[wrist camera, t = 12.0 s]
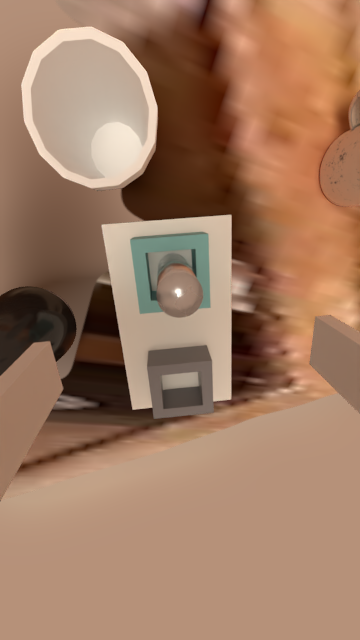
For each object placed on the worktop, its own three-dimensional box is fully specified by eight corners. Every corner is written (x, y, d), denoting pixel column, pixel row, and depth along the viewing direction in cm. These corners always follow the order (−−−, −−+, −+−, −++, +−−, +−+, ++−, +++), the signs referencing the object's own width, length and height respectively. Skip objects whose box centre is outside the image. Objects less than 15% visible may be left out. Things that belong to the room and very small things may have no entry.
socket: (142, 302, 36) (139, 313, 32) (133, 236, 33) (129, 239, 29) (204, 297, 36) (210, 307, 32) (202, 231, 33) (208, 233, 29)
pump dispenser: (21, 352, 39) (-58, 428, 25) (-2, 283, 35) (-111, 327, 21) (90, 345, 40) (52, 416, 25) (75, 276, 36) (19, 315, 22)
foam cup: (154, 203, 33) (151, 196, 21) (78, 193, 32) (28, 179, 20) (161, 111, 30) (162, 40, 18) (76, 97, 29) (15, 11, 17)
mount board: (133, 403, 44) (129, 430, 38) (103, 224, 34) (92, 225, 28) (228, 393, 44) (238, 419, 39) (228, 214, 34) (241, 214, 29)
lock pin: (159, 284, 35) (159, 319, 23) (156, 254, 34) (154, 274, 22) (189, 282, 35) (204, 315, 23) (187, 251, 34) (202, 270, 22)
